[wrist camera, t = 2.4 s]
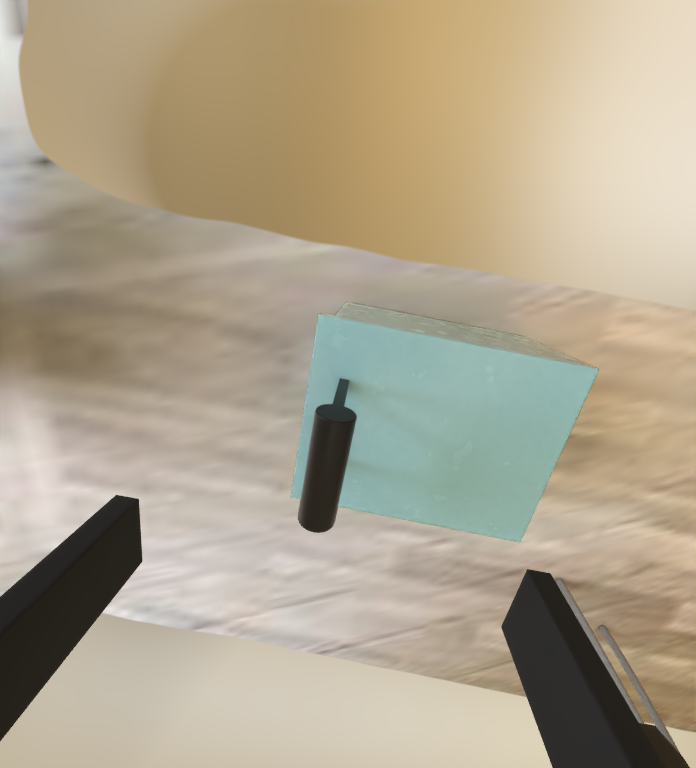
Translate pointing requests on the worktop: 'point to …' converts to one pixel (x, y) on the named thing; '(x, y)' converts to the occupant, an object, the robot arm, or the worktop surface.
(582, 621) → the citrus juicer
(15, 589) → the robot arm
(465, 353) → the cabinet door
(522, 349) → the teal box
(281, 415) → the worktop surface
